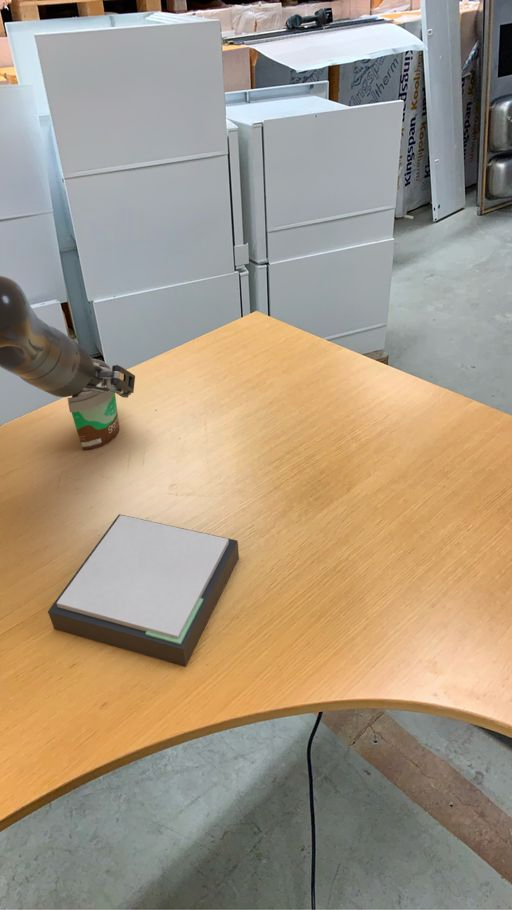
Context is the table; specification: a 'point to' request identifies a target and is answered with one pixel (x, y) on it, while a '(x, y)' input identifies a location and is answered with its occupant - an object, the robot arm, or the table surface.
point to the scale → (147, 588)
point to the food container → (95, 415)
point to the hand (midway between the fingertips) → (99, 389)
